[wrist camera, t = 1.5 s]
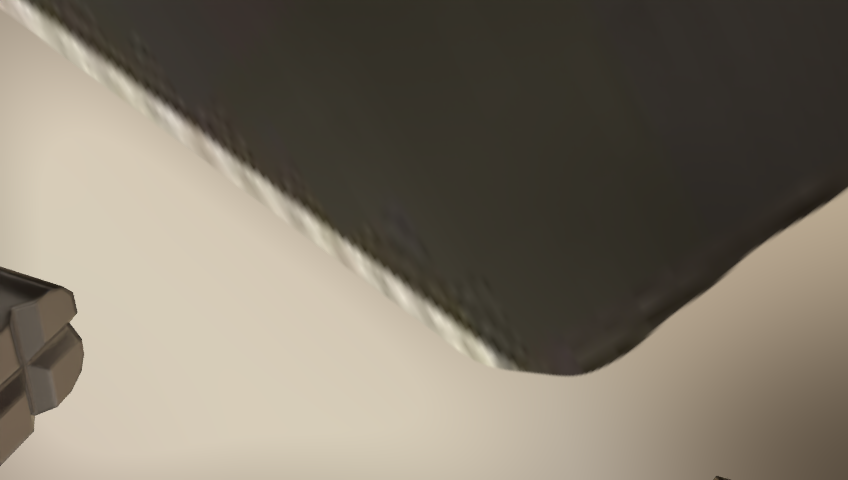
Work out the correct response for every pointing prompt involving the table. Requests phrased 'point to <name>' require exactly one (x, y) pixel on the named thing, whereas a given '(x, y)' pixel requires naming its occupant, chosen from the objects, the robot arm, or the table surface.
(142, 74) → the table surface
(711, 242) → the table surface
